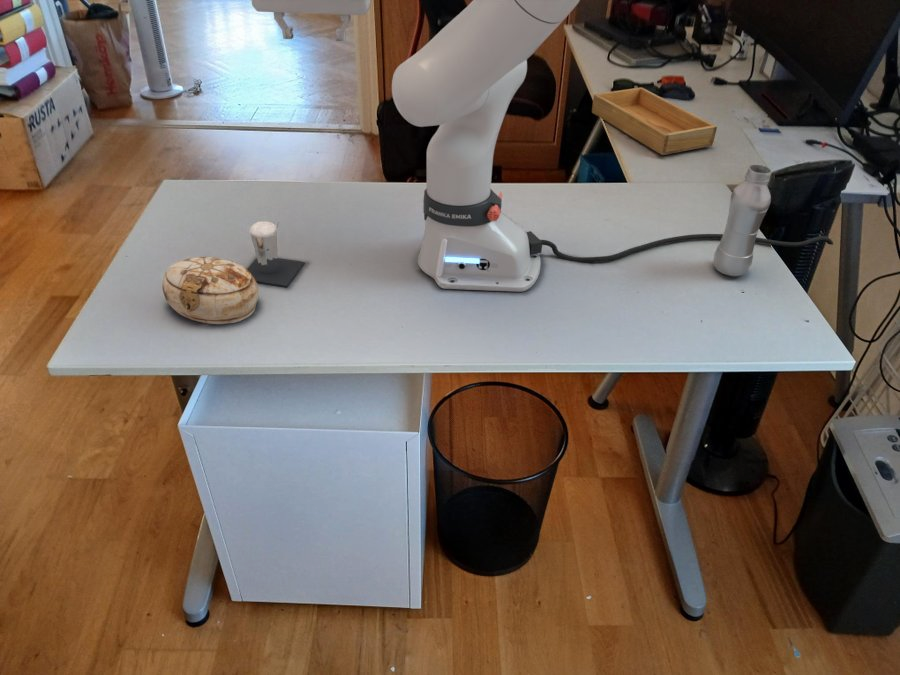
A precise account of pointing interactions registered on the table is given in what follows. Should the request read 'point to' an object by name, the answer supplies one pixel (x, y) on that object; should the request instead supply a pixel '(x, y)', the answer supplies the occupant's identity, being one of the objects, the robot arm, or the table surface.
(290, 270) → the mat
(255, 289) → the trinket box
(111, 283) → the table surface
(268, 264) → the milkshake
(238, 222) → the table surface
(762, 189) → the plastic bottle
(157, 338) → the table surface
